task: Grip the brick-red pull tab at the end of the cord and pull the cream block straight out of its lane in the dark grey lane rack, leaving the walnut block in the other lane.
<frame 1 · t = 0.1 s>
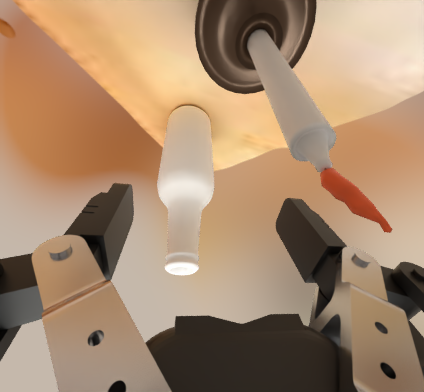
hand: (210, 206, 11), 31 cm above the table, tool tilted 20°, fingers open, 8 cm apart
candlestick: (236, 1, 27), on the table
alcohol: (189, 123, 42), on the table
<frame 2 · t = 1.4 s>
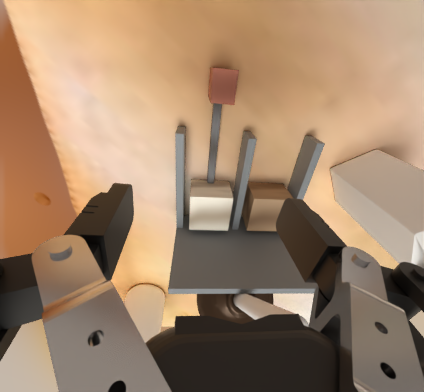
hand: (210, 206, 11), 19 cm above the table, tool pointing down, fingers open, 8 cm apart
milk carton: (353, 176, 33), on the table
walnut block: (261, 197, 34), resting in lane rack
lane rack: (238, 181, 32), on the table
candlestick: (218, 287, 42), point 3 cm above the table, touching lane rack
alcohol: (147, 293, 47), on the table
corded block: (208, 196, 33), on the table
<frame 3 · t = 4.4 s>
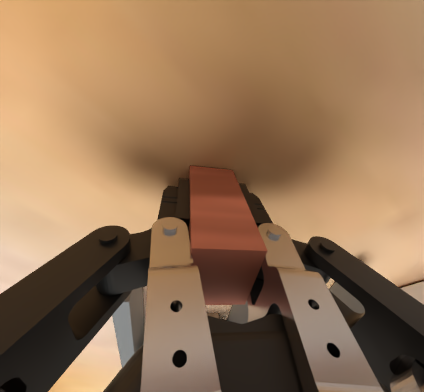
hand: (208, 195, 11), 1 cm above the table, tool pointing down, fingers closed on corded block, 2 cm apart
milk carton: (405, 298, 22), on the table
lane rack: (234, 313, 20), on the table
corded block: (184, 329, 20), on the table, touching gripper
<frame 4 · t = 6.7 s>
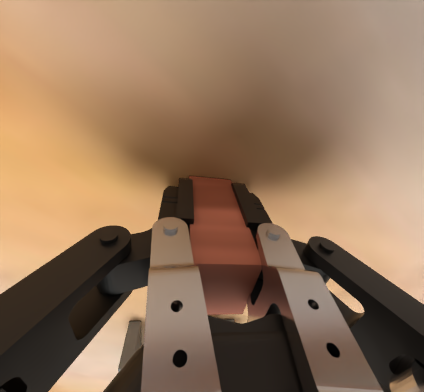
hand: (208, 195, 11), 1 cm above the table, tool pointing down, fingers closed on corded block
lane rack: (215, 354, 24), on the table
corded block: (184, 332, 21), on the table, touching gripper
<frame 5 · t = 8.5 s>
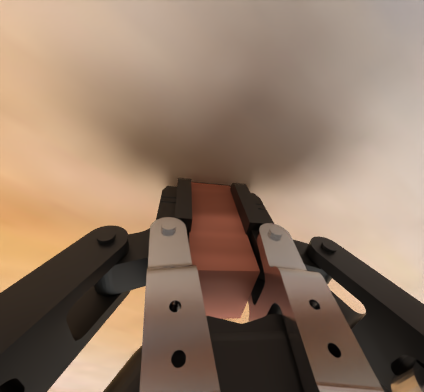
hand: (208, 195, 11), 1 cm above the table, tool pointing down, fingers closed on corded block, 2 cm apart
corded block: (184, 334, 21), on the table, touching gripper
when the fingers open (1 cm above the table, at t = 9.3 s): corded block stays where it is, on the table.
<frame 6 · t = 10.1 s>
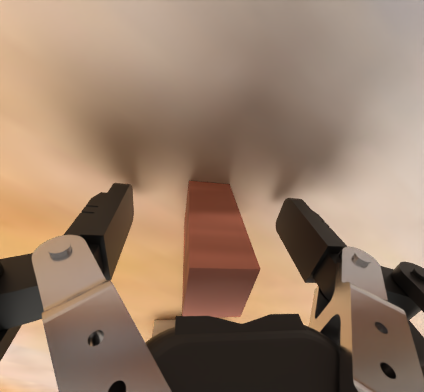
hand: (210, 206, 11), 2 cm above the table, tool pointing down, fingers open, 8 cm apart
corded block: (183, 334, 21), on the table
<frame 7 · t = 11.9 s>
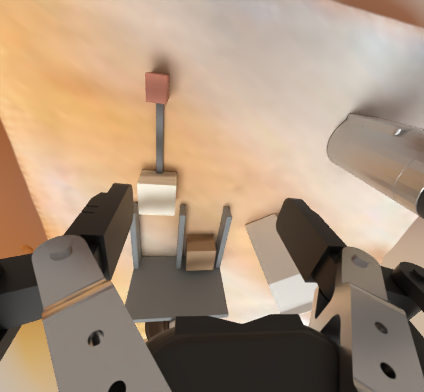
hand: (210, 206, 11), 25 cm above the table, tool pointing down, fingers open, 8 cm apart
milk carton: (262, 228, 47), on the table
walnut block: (199, 243, 47), resting in lane rack
lane rack: (180, 234, 44), on the table
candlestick: (171, 308, 53), point 3 cm above the table, touching lane rack
corded block: (159, 185, 37), on the table
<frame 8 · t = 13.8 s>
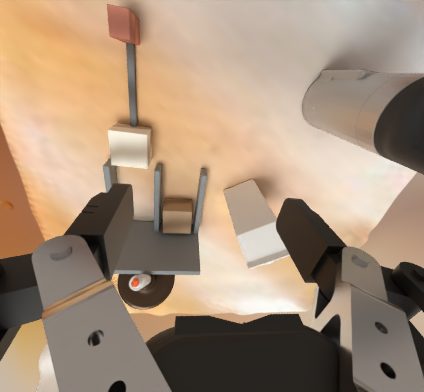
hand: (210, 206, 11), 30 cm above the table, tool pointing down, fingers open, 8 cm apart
milk carton: (242, 195, 47), on the table
walnut block: (178, 209, 47), resting in lane rack
lane rack: (158, 197, 45), on the table
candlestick: (151, 277, 53), point 3 cm above the table, touching lane rack
alcohol: (96, 282, 58), on the table
corded block: (135, 141, 38), on the table
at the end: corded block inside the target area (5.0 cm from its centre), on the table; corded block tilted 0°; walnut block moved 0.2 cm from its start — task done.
